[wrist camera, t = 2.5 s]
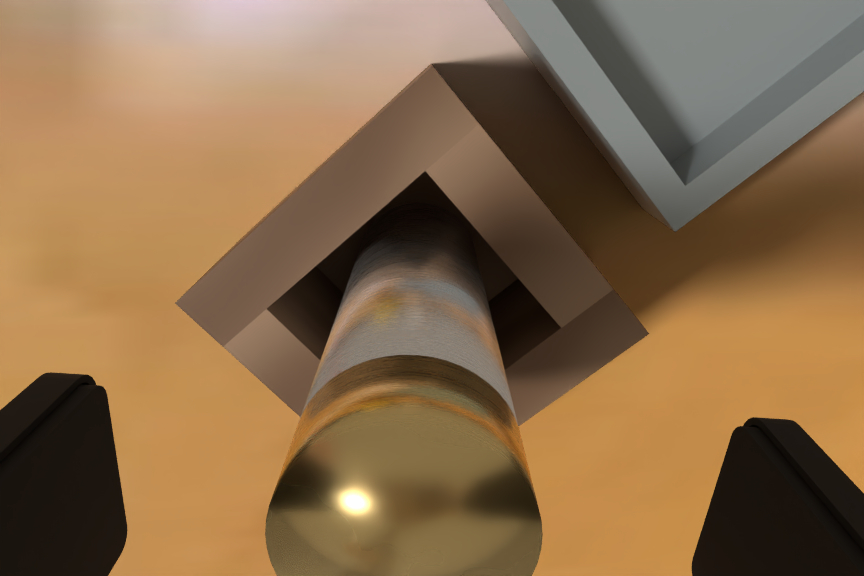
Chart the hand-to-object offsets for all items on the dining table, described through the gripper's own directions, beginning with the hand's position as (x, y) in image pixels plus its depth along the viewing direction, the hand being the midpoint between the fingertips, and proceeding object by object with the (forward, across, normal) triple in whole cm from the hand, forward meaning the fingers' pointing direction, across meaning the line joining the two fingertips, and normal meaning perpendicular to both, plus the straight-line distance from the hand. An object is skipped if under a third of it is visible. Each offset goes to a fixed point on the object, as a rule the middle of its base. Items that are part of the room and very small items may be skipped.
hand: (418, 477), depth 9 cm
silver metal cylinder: (+12, 0, +1) cm, 12 cm away
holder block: (+13, 0, +1) cm, 13 cm away
